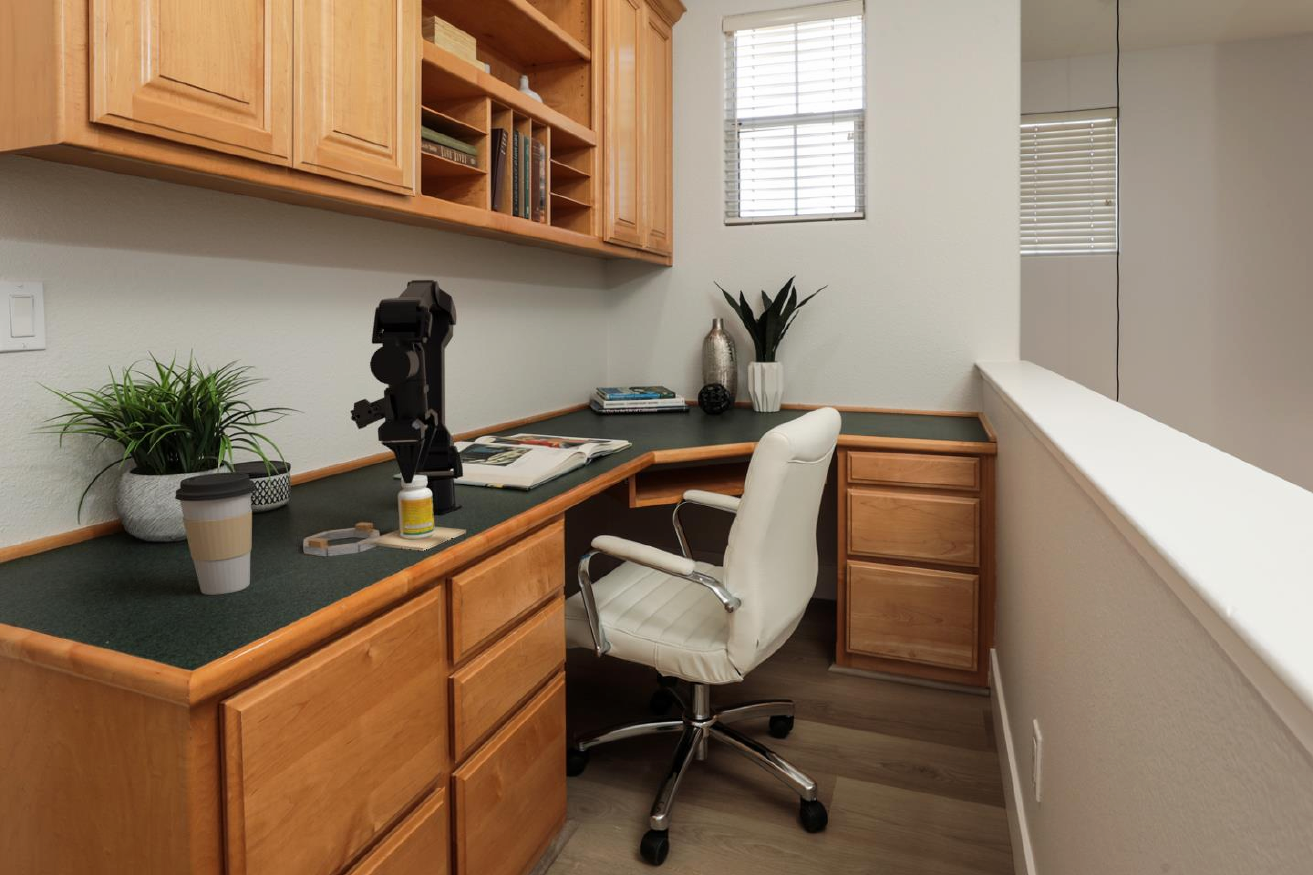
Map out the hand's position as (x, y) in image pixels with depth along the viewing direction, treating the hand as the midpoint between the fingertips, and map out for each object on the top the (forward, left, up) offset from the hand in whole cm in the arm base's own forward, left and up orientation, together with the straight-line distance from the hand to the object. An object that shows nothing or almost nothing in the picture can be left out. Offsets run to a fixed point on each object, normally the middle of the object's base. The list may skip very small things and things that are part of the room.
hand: (413, 477), depth 127 cm
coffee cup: (+28, -9, -10) cm, 31 cm away
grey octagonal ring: (+7, -9, -10) cm, 15 cm away
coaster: (0, 0, -10) cm, 10 cm away
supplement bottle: (0, 0, -10) cm, 10 cm away
